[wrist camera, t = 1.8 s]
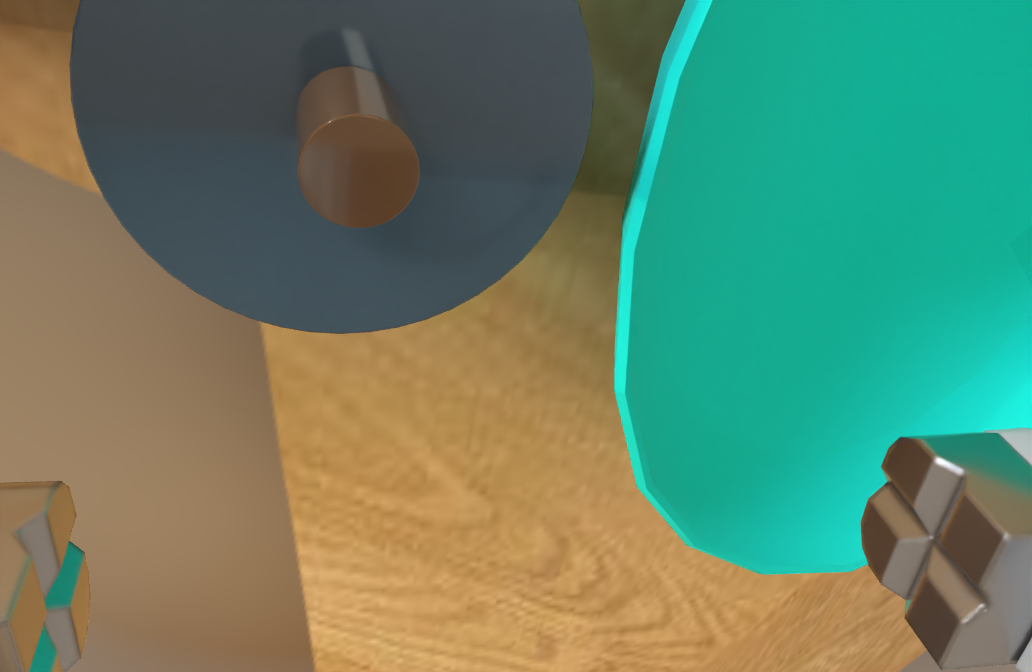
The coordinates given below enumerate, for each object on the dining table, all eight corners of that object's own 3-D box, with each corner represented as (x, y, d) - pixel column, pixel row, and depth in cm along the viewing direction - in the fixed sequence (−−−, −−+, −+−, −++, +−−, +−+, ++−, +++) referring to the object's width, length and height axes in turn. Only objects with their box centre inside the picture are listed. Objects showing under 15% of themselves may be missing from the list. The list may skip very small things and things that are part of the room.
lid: (105, 311, 25) (73, 416, 21) (45, -220, 18) (-19, -214, 14) (543, 314, 28) (586, 405, 24) (622, -137, 22) (698, -114, 18)
